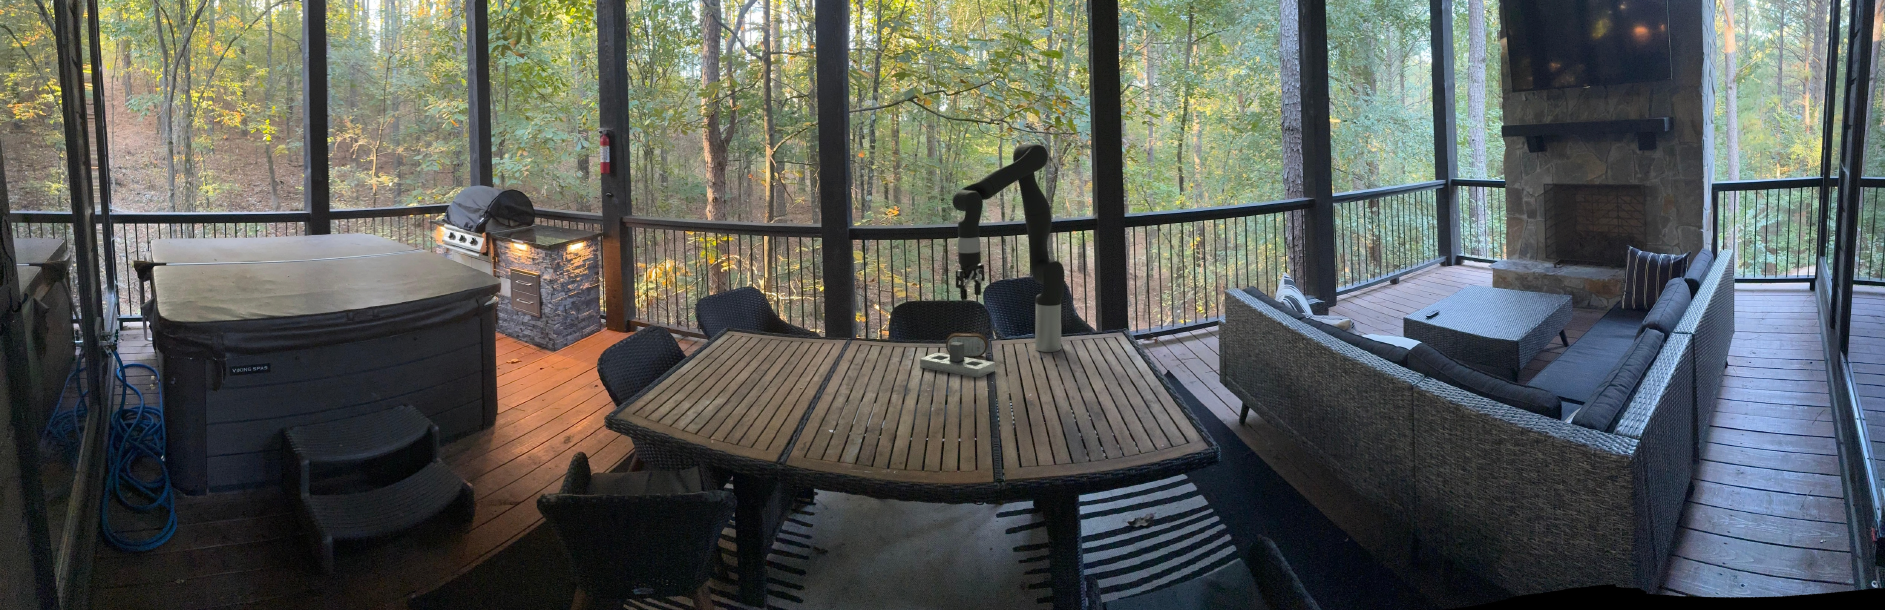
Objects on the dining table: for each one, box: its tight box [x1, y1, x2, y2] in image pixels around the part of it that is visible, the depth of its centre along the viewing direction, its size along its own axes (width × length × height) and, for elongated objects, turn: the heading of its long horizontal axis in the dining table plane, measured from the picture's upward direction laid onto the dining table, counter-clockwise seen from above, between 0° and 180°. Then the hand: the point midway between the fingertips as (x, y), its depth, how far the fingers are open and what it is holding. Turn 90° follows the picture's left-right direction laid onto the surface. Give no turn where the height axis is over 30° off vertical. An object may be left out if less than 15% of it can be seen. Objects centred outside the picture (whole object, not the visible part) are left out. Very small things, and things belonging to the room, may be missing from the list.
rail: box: [919, 352, 996, 379], centre depth 308 cm, size 10×24×3 cm, turn 54°
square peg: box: [948, 342, 964, 363], centre depth 307 cm, size 4×4×9 cm
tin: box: [945, 332, 989, 358], centre depth 324 cm, size 15×3×8 cm, turn 84°
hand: (971, 297), depth 307 cm, fingers open, 8 cm apart
